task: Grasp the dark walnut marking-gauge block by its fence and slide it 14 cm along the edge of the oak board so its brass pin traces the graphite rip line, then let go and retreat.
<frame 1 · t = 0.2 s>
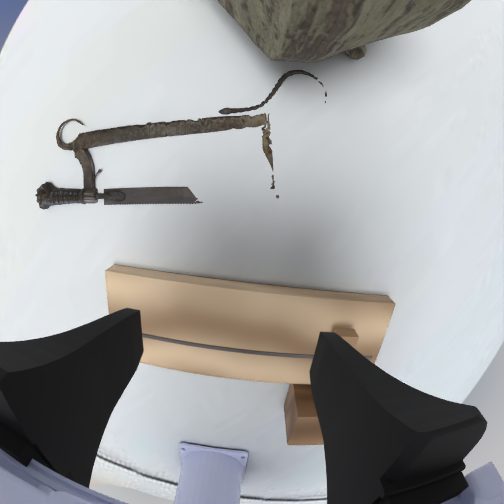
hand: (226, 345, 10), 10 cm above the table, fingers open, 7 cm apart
tabletop clock: (282, 16, 15), on the table
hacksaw: (158, 136, 18), on the table
gauge: (313, 392, 23), on the table
board: (246, 330, 21), on the table
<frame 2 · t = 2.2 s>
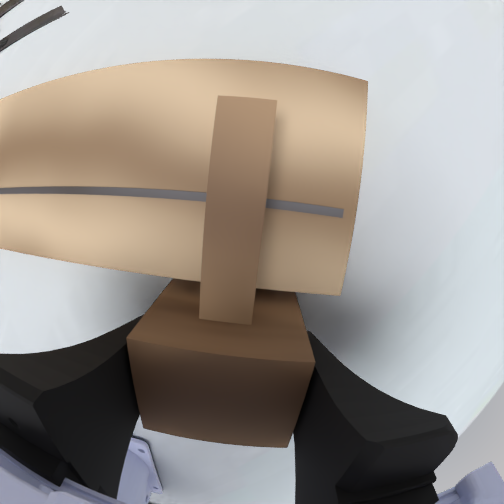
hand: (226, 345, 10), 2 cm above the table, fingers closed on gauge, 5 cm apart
gauge: (230, 324, 12), on the table, touching gripper
board: (88, 165, 10), on the table
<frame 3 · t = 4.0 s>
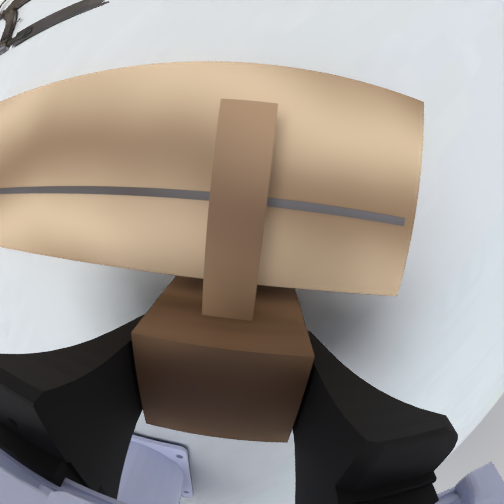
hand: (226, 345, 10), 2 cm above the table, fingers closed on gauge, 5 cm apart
gauge: (231, 322, 12), on the table, touching gripper
board: (141, 165, 11), on the table
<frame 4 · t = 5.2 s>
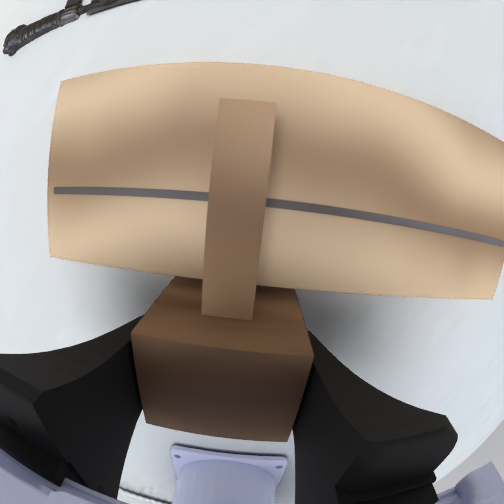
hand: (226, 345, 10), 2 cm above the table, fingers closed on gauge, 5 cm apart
gauge: (231, 321, 12), on the table, touching gripper
board: (308, 179, 11), on the table
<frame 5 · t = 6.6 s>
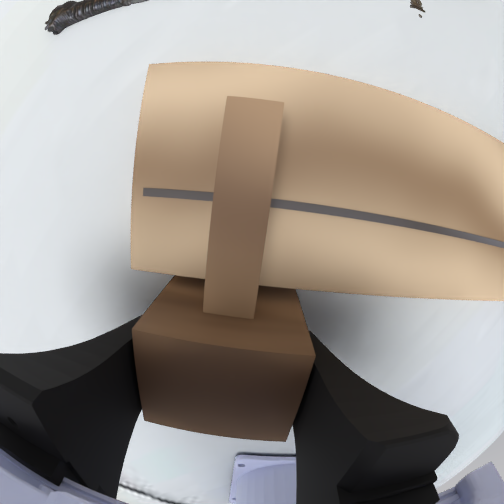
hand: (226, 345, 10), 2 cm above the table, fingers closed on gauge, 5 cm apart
gauge: (231, 320, 12), on the table, touching gripper
board: (406, 197, 11), on the table
when the fingers open (2 cm above the table, at t = 7.8 s): gauge stays where it is, on the table.
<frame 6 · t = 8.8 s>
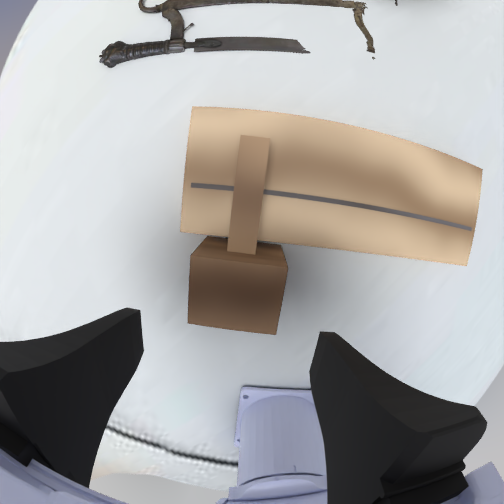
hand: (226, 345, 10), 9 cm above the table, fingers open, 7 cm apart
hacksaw: (256, 5, 15), on the table
gauge: (240, 268, 19), on the table
board: (353, 188, 18), on the table
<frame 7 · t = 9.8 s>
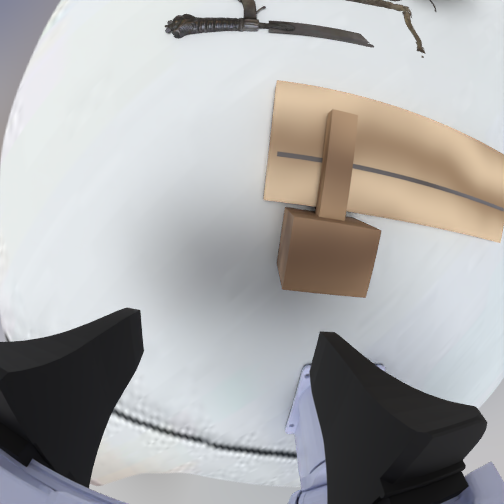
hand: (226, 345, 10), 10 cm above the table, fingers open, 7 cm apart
gauge: (315, 239, 19), on the table
board: (412, 169, 18), on the table
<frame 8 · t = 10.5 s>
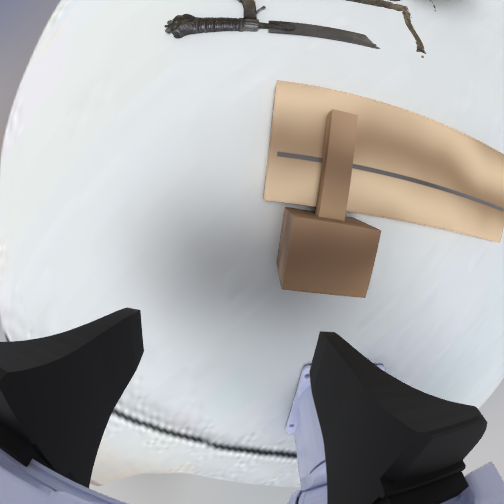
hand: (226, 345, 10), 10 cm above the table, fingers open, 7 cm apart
gauge: (315, 239, 19), on the table
board: (412, 169, 18), on the table
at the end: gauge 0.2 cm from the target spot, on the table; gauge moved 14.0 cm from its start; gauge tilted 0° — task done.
